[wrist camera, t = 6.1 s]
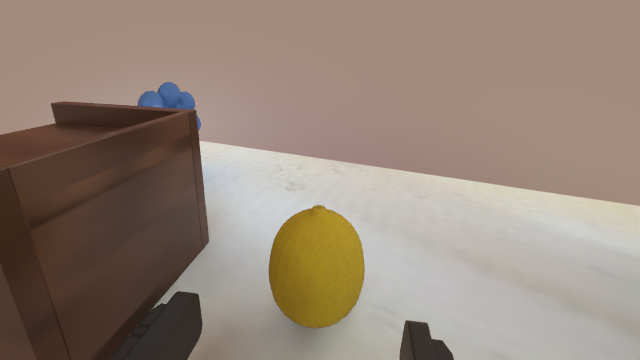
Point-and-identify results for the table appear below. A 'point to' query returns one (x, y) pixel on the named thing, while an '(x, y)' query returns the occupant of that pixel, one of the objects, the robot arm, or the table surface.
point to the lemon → (316, 267)
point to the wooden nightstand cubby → (95, 225)
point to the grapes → (168, 99)
